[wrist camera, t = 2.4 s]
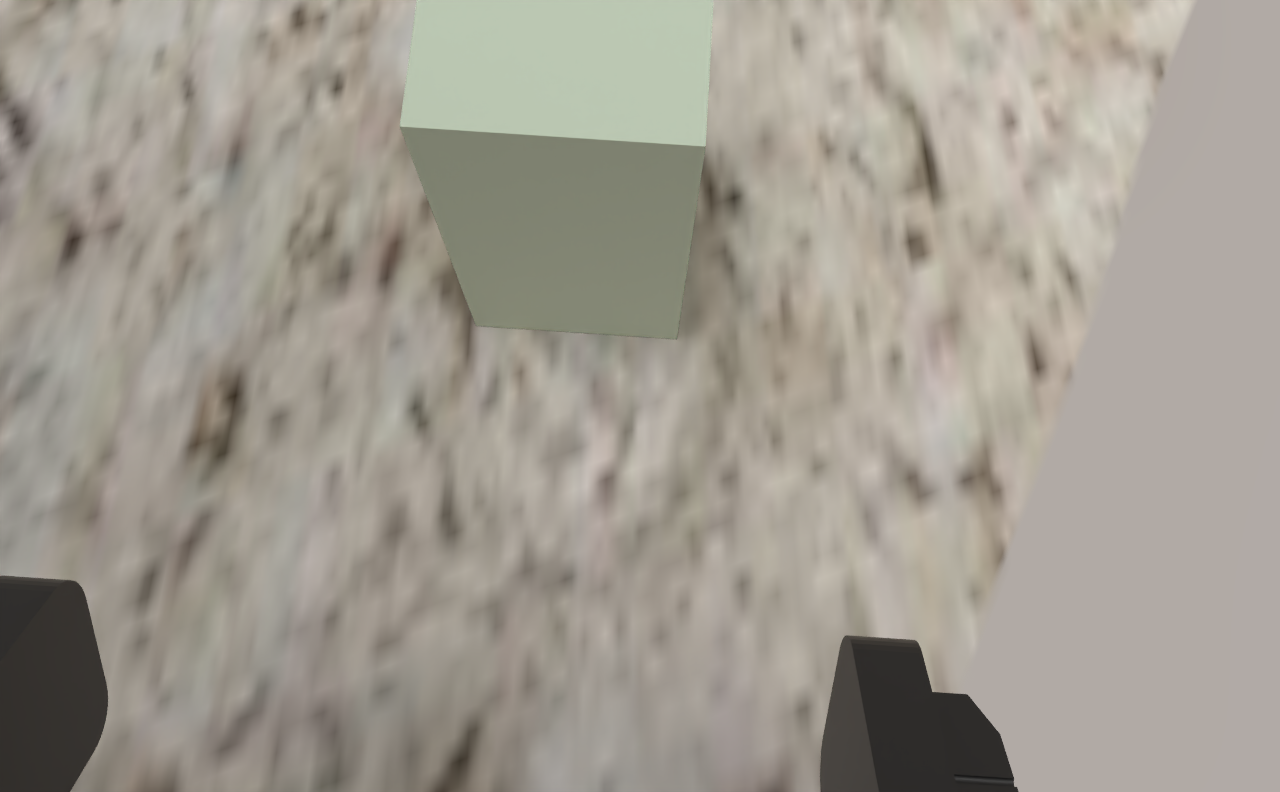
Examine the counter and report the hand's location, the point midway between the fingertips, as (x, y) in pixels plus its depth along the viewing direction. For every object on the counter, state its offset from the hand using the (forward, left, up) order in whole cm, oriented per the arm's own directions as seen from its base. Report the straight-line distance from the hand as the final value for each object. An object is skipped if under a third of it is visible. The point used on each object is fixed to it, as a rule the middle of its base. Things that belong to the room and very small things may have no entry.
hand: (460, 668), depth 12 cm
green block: (0, +11, -14) cm, 18 cm away
